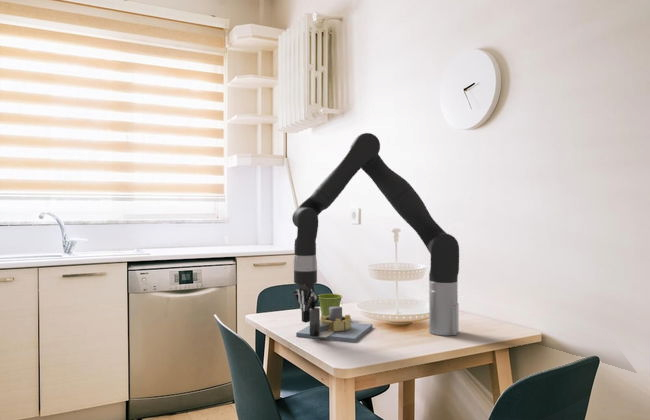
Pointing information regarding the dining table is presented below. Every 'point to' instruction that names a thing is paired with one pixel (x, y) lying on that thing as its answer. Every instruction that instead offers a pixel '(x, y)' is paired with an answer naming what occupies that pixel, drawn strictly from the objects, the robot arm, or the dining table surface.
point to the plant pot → (328, 302)
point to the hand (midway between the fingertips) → (305, 321)
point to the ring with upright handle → (327, 323)
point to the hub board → (348, 335)
